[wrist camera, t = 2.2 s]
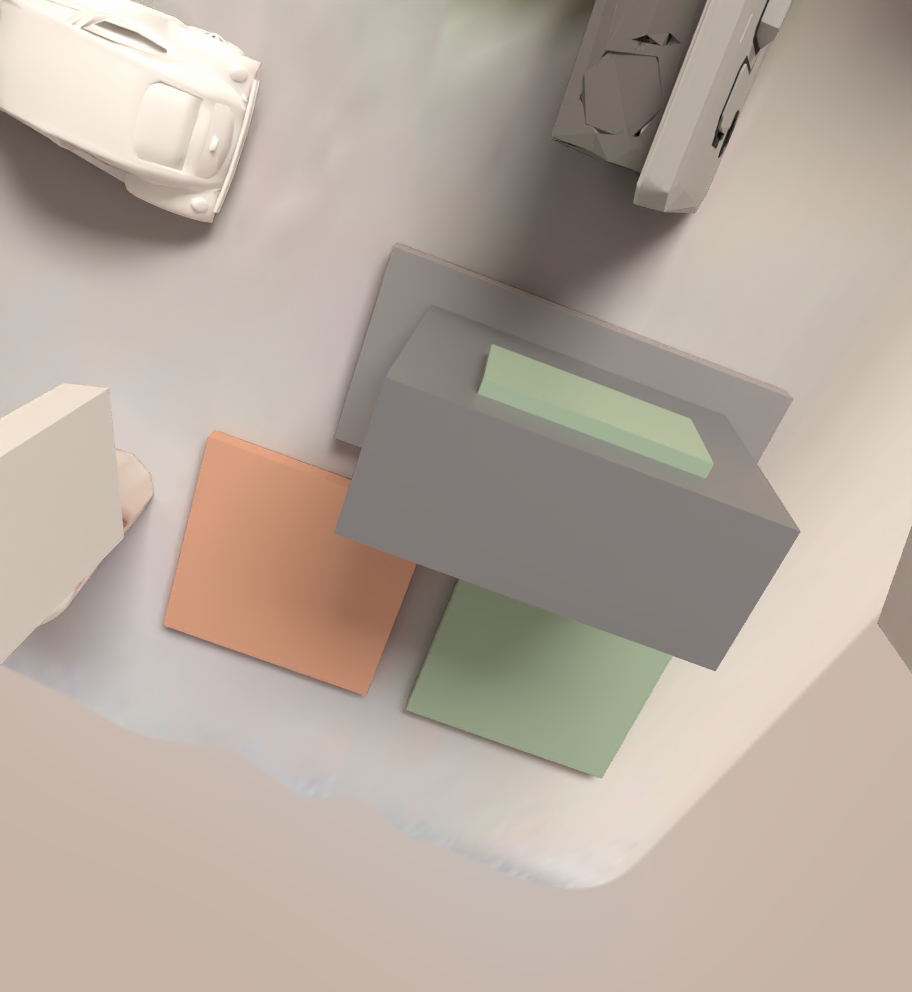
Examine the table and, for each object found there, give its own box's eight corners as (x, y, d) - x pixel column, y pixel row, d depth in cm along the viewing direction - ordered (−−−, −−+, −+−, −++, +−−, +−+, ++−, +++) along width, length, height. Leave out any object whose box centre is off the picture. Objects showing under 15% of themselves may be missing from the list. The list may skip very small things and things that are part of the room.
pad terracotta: (170, 616, 39) (163, 625, 38) (214, 430, 35) (208, 436, 34) (369, 685, 39) (365, 696, 39) (436, 510, 35) (434, 518, 35)
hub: (339, 429, 34) (255, 552, 24) (397, 242, 31) (328, 295, 21) (692, 559, 35) (752, 730, 25) (786, 391, 32) (898, 510, 22)
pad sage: (408, 699, 40) (405, 710, 39) (479, 526, 35) (478, 534, 35) (600, 766, 40) (601, 778, 39) (693, 604, 36) (696, 614, 35)
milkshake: (56, 412, 35) (-114, 510, 26) (176, 453, 35) (50, 564, 26) (45, 503, 37) (-116, 623, 28) (159, 540, 37) (36, 672, 28)
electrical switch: (694, 216, 30) (723, 236, 21) (560, 168, 30) (535, 170, 21) (819, -83, 26) (915, -203, 17) (663, -134, 26) (683, -277, 18)
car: (281, 64, 29) (236, 53, 25) (228, 230, 32) (179, 245, 27) (-43, -98, 28) (-147, -139, 24) (-71, 87, 31) (-169, 80, 26)
